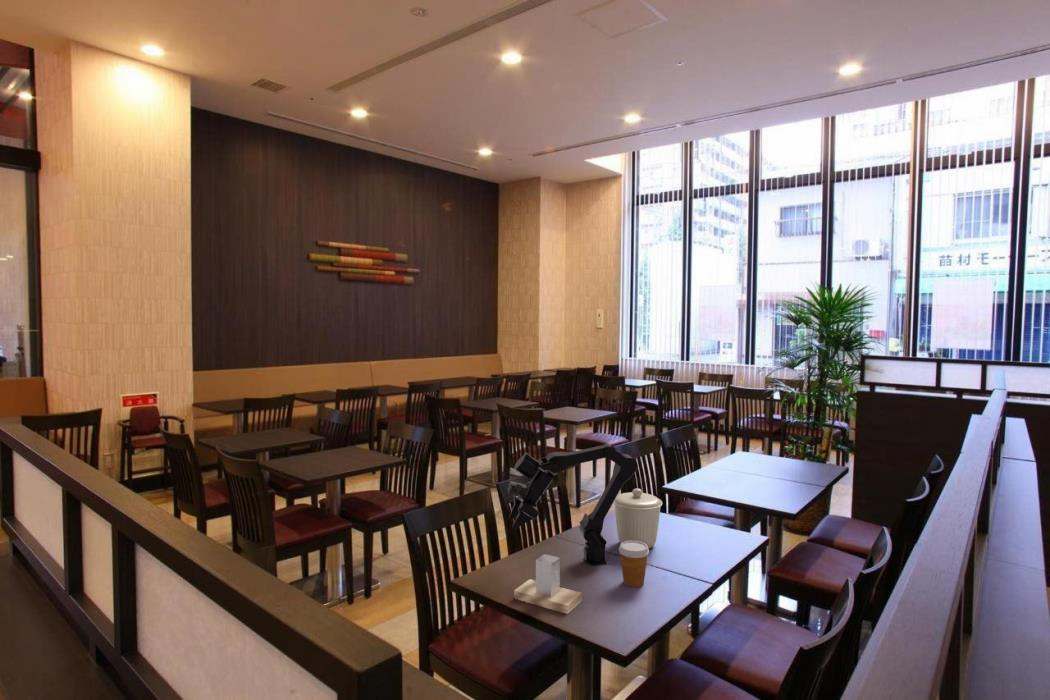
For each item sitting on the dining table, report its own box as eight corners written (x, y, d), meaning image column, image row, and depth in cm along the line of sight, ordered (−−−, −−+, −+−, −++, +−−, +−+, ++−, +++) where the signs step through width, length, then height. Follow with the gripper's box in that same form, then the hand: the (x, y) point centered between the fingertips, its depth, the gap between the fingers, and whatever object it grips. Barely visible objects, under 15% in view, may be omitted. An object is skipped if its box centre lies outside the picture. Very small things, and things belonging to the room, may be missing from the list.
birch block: (514, 598, 179) (514, 580, 178) (529, 587, 186) (529, 569, 186) (567, 614, 169) (567, 595, 169) (581, 601, 177) (581, 583, 176)
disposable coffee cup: (612, 579, 191) (613, 542, 191) (637, 574, 195) (638, 538, 194) (629, 591, 183) (629, 553, 182) (655, 586, 186) (655, 548, 186)
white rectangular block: (544, 586, 181) (544, 554, 181) (559, 590, 178) (559, 557, 178) (535, 593, 177) (535, 560, 176) (551, 597, 174) (551, 563, 173)
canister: (671, 544, 220) (672, 488, 219) (644, 558, 207) (644, 499, 206) (630, 532, 233) (630, 479, 232) (602, 545, 220) (602, 488, 219)
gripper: (515, 465, 210) (490, 502, 209) (522, 480, 191) (494, 520, 191) (541, 483, 211) (515, 519, 211) (550, 498, 193) (522, 538, 192)
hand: (511, 523), depth 201 cm, fingers open, 9 cm apart
